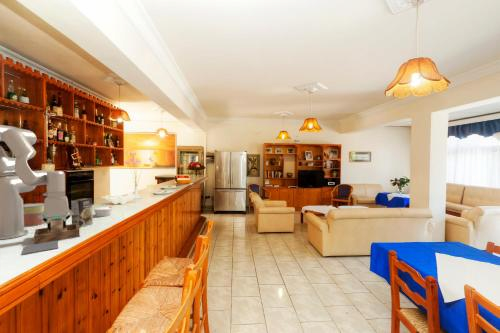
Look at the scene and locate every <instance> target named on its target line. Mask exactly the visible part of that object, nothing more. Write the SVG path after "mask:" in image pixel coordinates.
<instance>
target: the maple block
mask: <svg viewBox="0 0 500 333" xmlns="http://www.w3.org/2000/svg"><path fill="white" fill-rule="evenodd" d="M50 222H51V233H52V232H59V231H63V217H54V218H51V219H50Z"/></svg>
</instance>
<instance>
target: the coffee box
mask: <svg viewBox="0 0 500 333" xmlns="http://www.w3.org/2000/svg"><path fill="white" fill-rule="evenodd" d="M71 211H72V212H73V213H74V214H73V215H72V216H71V224H77V223H78V226H79V229H81V228H84V227H87V226H90V225H93V223H94V222H93V220H94V218H93V198H91V197H90V198H87V197H85V198H78V199H73V200H71Z"/></svg>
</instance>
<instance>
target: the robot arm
mask: <svg viewBox="0 0 500 333" xmlns="http://www.w3.org/2000/svg"><path fill="white" fill-rule="evenodd" d="M37 140H38V139H37V135H36V134H35V133H34V132H33V131H32V130H30V129H24V128H21V127H17V126H12V125H3V124H0V142H4V144H6V146H7V147H8V148H9V150H10V152H12V154H13V156H14V157H9V156H8V155H7V153H6V151H5V149H4V148H3V147H2V146H1V145H0V176H1V177H0V240H8V239H9V240H10V239H14V238H20V237H22V236H26V235H28V234H29V230H27V229H25V227H24V209H23V205H24V200H23V198H22V196H21V195H20V194H22V193H29V192H31V191H34V190H35V188H36V187H37V186H43V185H46V192H44V193H43V194H42V196H43V197H45V198H44V202H43V203H44V211H43V212H42V213H41V214H40V215H39V217H38V218H39V219H41V220H43V221H45V222H46V224H47V226H46V228H47V229H49V231H51V219H53V218H63V229H65V228H64V227H66V225H67V220H69V219H70V218H72V215H73V214H74V213H73V212H72V209H70V208H69V207H70V206H69V199H68V197H67V195H66V179H65V178H66V177H65V176H66V175H65V174H66V173H65V172H64V171H63V170H48V169H41V170H32V169H31V167H30V166H29V163H28V160H30V159H33V158H34V157H35V155H36V154H37V150H35V148H34V146H33V145H35V144H36V142H37ZM43 215H44V217H45V218H44V217H43ZM46 218H47V219H46Z"/></svg>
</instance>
